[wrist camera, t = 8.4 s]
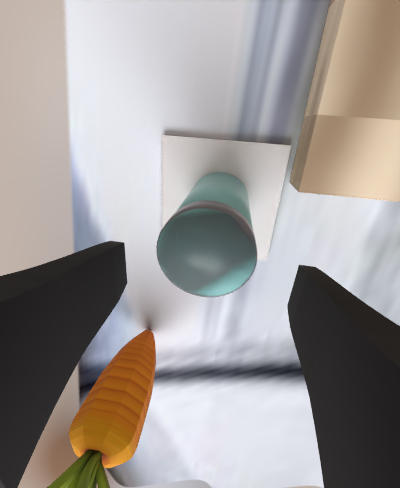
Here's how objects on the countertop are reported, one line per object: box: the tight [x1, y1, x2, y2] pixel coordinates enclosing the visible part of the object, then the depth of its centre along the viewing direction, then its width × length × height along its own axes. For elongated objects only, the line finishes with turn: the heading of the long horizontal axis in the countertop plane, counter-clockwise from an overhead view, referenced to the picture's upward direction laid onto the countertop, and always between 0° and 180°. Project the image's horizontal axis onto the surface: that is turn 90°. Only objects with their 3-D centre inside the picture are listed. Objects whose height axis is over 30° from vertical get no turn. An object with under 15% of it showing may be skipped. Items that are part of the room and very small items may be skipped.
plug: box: [157, 172, 257, 297], centre depth 15 cm, size 4×4×9 cm
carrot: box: [47, 330, 156, 488], centre depth 20 cm, size 5×5×15 cm
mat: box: [162, 135, 291, 261], centre depth 19 cm, size 9×9×1 cm
